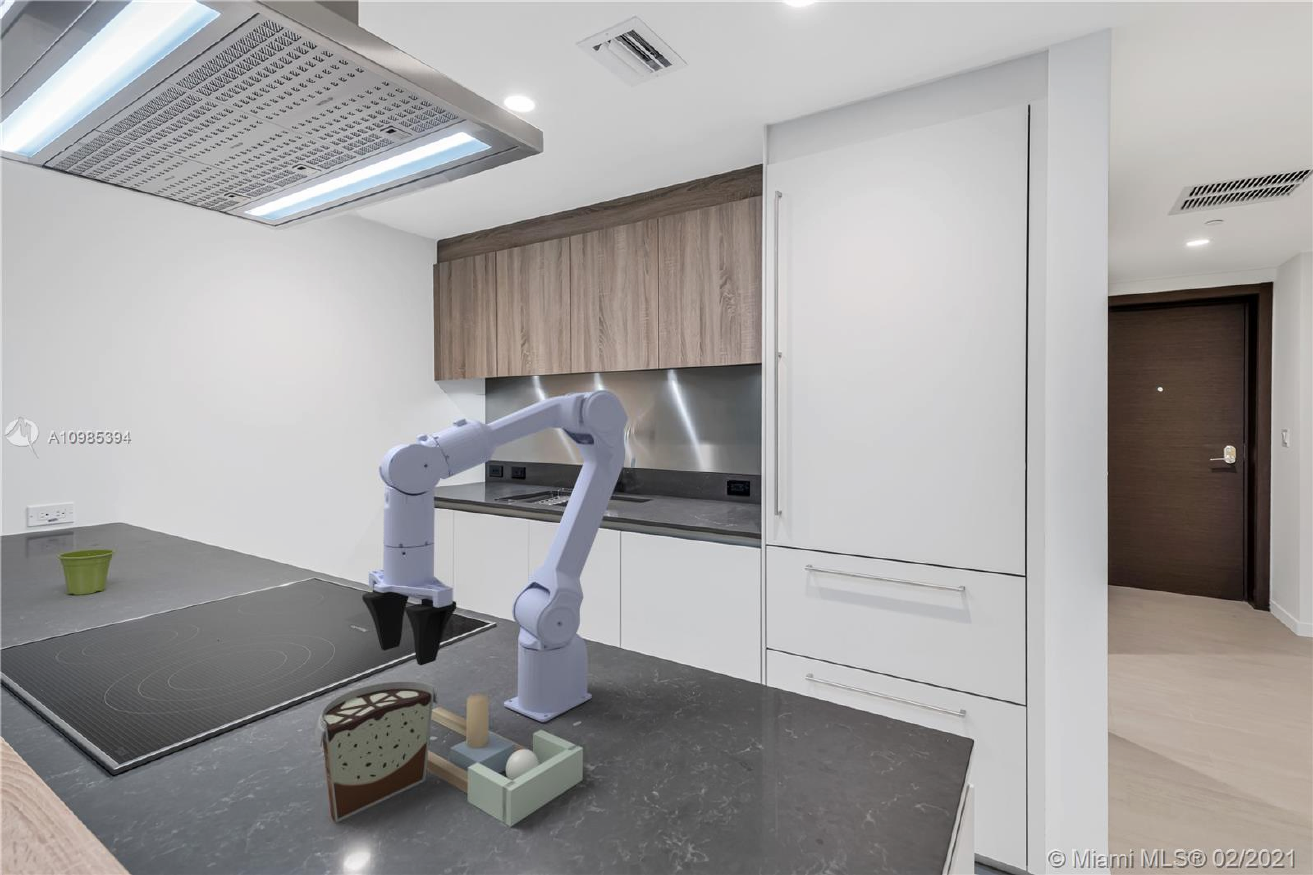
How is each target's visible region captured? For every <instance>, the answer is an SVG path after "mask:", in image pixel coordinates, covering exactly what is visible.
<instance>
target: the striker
mask: <svg viewBox="0 0 1313 875" xmlns="http://www.w3.org/2000/svg"><path fill="white" fill-rule="evenodd" d="M489 704H490V698H489V695H488V694H485V693H476V694H471V695H470V696H468V697H467V698H466V720H467V727H466V740H464V741H461V742H460V743H457V744H455V745H454V746H451V747H450V748H449V749H450V752H449V753H450V757H449V758H450V759H449V760H450V761H449V762H450V763H452V764H454V765H456V766H458V767H459V768H461V769H463V770H465V771H467V772H468V767H470V766H472V765H474V764H476V763H477V762H478V763H480V764H481V765H483V766H485V767H487V768H489V769H491V770H493V771H495V772H497V773H498V774H501V773H503V772H506V764H507V761H508V759H509V758H510V756H511V755H512V754H513V753H514V752H515V744H514V743H512V742H513V741H512V742H510V741H511V740H510V741H508V740H509V739H508V740H506V739H507V738H506V739H504V738H505V737H504V738H502V737H503V736H502V737H500V736H501V735H500V736H498V735H499V734H498V735H495V734H496V733H495V734H493V733H494V732H493V733H491V732H492V731H491V732H489V731H490V730H489V724H490V723H489V722H490V721H489V717H490V716H489V714H490V713H489V710H490V709H489V708H490V707H489V706H490V705H489ZM488 730H489V731H488Z"/></svg>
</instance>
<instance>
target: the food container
mask: <svg viewBox="0 0 1313 875" xmlns="http://www.w3.org/2000/svg"><path fill="white" fill-rule="evenodd" d="M433 704H439V700H438V695H437V691H436V690H435V685H432V684H430V683H426V682H421V681H413V680H412V681H410V680H397V681H396V680H395V681H394V680H393V681H386V682H385V681H384V682H379V683H374V684H369V685H364V686H362V687H358V688H355V689H352V690H350V691H349V690H348V691H347V692H345V693H343V694H341V695H339V696H337V697H335V698H333V699H331V701H329V702H328V703H327V704H326V705H325V706H324V707H323V708H322V710H321V713H320V715H319V717H318V720H317V724H316V727H315V732H314V741H315V744H316V745H317V746H318V747H319V748H322V747H323V755H324V757H323V758H324V766H325V773H326V774H325V775H326V782H327V783H326V784H327V791H328V792H327V793H328V800H329V801H328V802H329V811H330V817H331V819H332V821H333V822H334V823H335V824H336V823H339V822H340V821H343V820H345V819H348V818H349V817H351V816H353V815H356V814H358V813H360V812H362V811H364V810H366V809H369V808H370V807H373V806H375V805H377V804H379V803H381V802H384V801H385V800H388V799H389V798H392V797H394V796H396V795H397V794H400V793H402V792H405V791H407V790H409V789H411V788H413V787H415V786H417V785H420V784H422V783H423V782H425V781H426V776H427V770H426V767H427V757H428V750H429V745H430V737H431V736H430V735H431V727H432V726H431V725H432V720H431V717H432V709H433V706H434V705H433ZM419 783H420V784H419Z"/></svg>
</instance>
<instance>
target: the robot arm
mask: <svg viewBox="0 0 1313 875" xmlns="http://www.w3.org/2000/svg"><path fill="white" fill-rule="evenodd" d="M628 420H629V416H628V415H627V412H626V410H625V409H624V406H623V404H622V402H621V399H620V398H619V397H618V396H617V395H616V394H615V393H613V392H612V391H610V390H607V389H598V390H595V391H588V392H579V391H578V392H576V391H575V392H574V391H573V392H569V393H566V394H565V395H558V396H554V397H550V398H545V399H543V400H541V401H538V402H536V403H533V404H532V405H531V404H530V405H529V406H527V407H524V408H521V409H520V410H517V411H515V412H512V413H511V414H508V415H506V416H503V417H501V418H498V419H495V420H494V421H492V422H489V423H488V424H485V423H483V422H481V421H479V420H477V419H469V420H467V419H466V418H458V419H455V420H453V421H452V425H453V426H450V427H448V428H446V429H443V430H440V431H438V432H435V433H432V434H430V435H428V434H426V433H422V434H420V435H417V436H416V438H415V439H416V441H417V442H416V443H410V444H409V443H404V444H399V445H396V446H393V447H392V448H390V449H389V450H388V451H387V453H386V454H384V456H383V458H382V461H381V464H380V466H379V467H378V472H379V473H378V474H379V476H380V479H381V480H382V481H383V483H385V485H384V486H385V490H384V491H385V492H384V499H385V502H384V503H385V504H384V506H383V554H382V555H383V556H382V557H383V562H382V563H383V564H382V567H383V569H378V570H373V571H368V587H369V588H372V591H371V592H367V593H363V594H362V596H361V598H362V599H361V600H362V601H363V602H364V604H365V606H366V608H367V610H368V612H369V613H370V616H371V618H372V621H373V623H374V627H375V631H376V634H377V639H378V643H379V646H380V648H381V650H382V651H384V652H385V651H388V650H390V649H394V648H398V647H400V644H401V640H402V637H403V636H402V635H403V624H404V623H403V622H404V616H405V613H406V616H407V617H408V620H409V623H410V626H411V629H412V633H413V641H414V651H415V652H414V653H415V660H416V664H417V665H419V666H423V665H427V664H429V663H433V662H435V661H437V657H438V653H439V649H440V645H441V642H442V640H443V639H442V638H443V634H444V633H445V629H446V628H447V625H448V623H449V621H450V619H451V617H452V616H453V613H454V612H455V611H456V609H457V601H454V600H453V596H454V595H453V593H454V592H453V587H451V586H448V585H446V584H445V583H443V582H442V581H441V580H439V579H438V578H437V577H435V503H434V502H435V497H434V496H435V488H436V487H437V485H438V483H439V482H440V481H441V480H447V479H449V478H451V477H454V476H456V475H458V474H460V473H461V474H462V473H463V472H465V471H468V470H471V469H472V468H475V467H478V466H479V465H482V464H484V463H487V462H489V461H491V460H492V458H493V455H494V454H495V451H496V449H497V448H498V447H500V446H502V445H506V444H508V443H511V442H513V441H516V440H519V439H522V438H524V437H527V436H529V435H532V434H535V433H539V432H541V431H543V430H547V429H549V428H552V429H561V430H562V432H564V434H566V436H567V437H568V438H569V439H570V440H571V441H572V442H573V443H574V445H576V447H577V449H578V451H579V453H580V456H581V458H582V460H583V464H582V467H581V469H580V472H579V475H578V476H577V479H576V482H575V484H574V488H573V490H572V492H571V495H570V497H569V499H568V502H567V505H566V507H565V509H564V512H563V515H562V517H561V518H560V519H561V520H560V522H559V525H558V527H557V530H556V532H555V534H554V537H553V539H552V542H551V544H550V548H549V549H548V551H547V555H546V557H545V559H544V562H543V564H542V565H541V566H540V567H539V568H537V569H536V570H535V571H534V572H533V573H532V574H531V575H530V577H529V579H528V581H527V583H526V584H525V586H524V587H523V588H522V590H520V591H519V592H518V593H517V595H516V596H515V598H514V600H513V602H512V606H511V607H512V608H511V613H512V618H513V620H514V622H515V623H516V624H517V625H518V626H519V634H518V638H517V639H518V640H517V645H518V646H517V647H518V649H517V696H515V697H513V698H511V699H508V700H506V701H504V702H503V707H505V708H507V709H510V710H512V711H515V712H517V713H519V714H522V715H524V716H526V717H529V718H531V719H534V720H536V721H538V722H540V723H545V722H547V721H550V720H551V719H553V718H555V717H557V716H559V715H561V714H563V713H566V712H567V711H569V710H570V709H573V708H575V707H577V706H579V705H581V704H582V703H583V704H584V702H587V701H588V700H590V699H592V696H593V695H592V693H589V692H588V662H589V661H588V658H589V657H588V655H589V654H588V649H587V645H586V643H585V640H584V639H583V638H582V636H581V635H579V634H578V633H577V632H578V631H579V627H580V623H581V614H580V612H581V605H582V603H583V599H584V593H583V589H582V585H581V579H580V578H581V576H582V573H583V570H584V567H585V565H586V562H587V560H588V557H589V554H590V553H591V549H592V548H593V544H594V542H595V539H596V536H597V533H598V531H599V529H600V526H601V524H602V521H603V518H604V515H605V513H606V510H607V508H608V505H609V503H610V500H611V497H612V495H613V493H614V491H615V487H616V485H617V482H618V479H619V476H621V475H620V474H621V472H622V469H623V467H624V463H625V431H624V430H625V428H626V425H627V422H628ZM409 598H413V599H417V600H420V601H421V603H417V604H413V605H410V606H407V603H408V600H409Z"/></svg>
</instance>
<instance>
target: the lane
mask: <svg viewBox="0 0 1313 875" xmlns="http://www.w3.org/2000/svg"><path fill="white" fill-rule="evenodd" d="M431 721H432V722H433V721H434V722H435V723H438V724H439V725H442V726H444V727H446V728H448V729H450V730H452V731H454V732H456V733H458V734H460V735H462V736H463V737H466V727H467V718H464V717H462V716H459V715H457V714H455V713H453V712H451V711H449V710H447V709H445V708H442V707H440V706H437V707H435V708H432V717H431ZM488 731H489V732H491V733H493V734H495V735H498V736H500V737H502V738H504V739H506V740H508V741H510V742H512V743H514V744H515V752H516V751H518V750H522V749H526V750H530V751H532V750H531V749H529V748H527V747H525V746H523V745H520V744H518V743H517V742H515V741H512V740H510V739H508V738H506V737H504V736H501V735H500V734H498V733H495V732H493V731H491V730H489V729H488ZM426 769H427V770H426V771H427V772H429V771H430V773H431V774H433V775H434V776H436V777H438V778H440V779H441V778H442V779H441V780H442V781H445V782H446V783H448V784H450V785H452V786H454V787H455V788H457V789H458V790H460V791H462V792H464V793H465V794H467V795H468V772H467V771H465V770H463V769H461V768H459V767H458V766H456V765H454V764H452V763H450V761H449V760H447V759H445V758H443V757H441V756H439V755H438V754H435V753H434V752H432V751H430V750H429V749H428V757H427V767H426Z"/></svg>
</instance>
